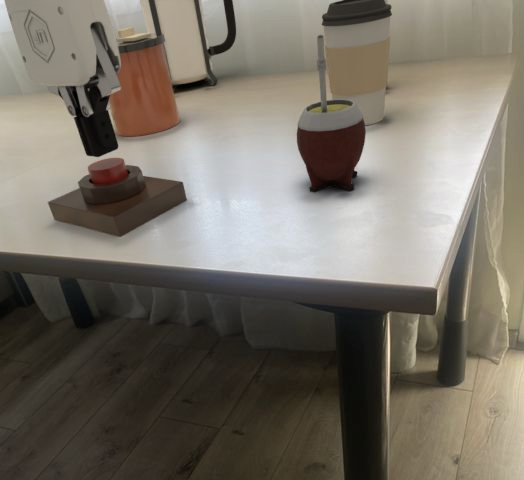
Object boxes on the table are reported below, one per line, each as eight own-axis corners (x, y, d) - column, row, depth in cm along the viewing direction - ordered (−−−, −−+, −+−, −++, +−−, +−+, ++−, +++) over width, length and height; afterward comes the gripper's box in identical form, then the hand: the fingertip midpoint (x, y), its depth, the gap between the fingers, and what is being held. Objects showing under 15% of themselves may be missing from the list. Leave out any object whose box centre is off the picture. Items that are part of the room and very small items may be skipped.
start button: (85, 184, 59) (80, 168, 57) (113, 171, 61) (108, 156, 60) (107, 188, 56) (102, 171, 55) (136, 175, 59) (131, 159, 58)
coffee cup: (391, 125, 72) (392, -6, 63) (325, 132, 74) (317, 5, 65) (390, 108, 79) (391, -12, 70) (330, 114, 81) (323, -2, 72)
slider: (117, 42, 83) (115, 31, 82) (135, 37, 85) (132, 26, 84) (134, 41, 80) (131, 29, 79) (151, 36, 82) (149, 25, 81)
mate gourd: (338, 167, 62) (330, 18, 53) (385, 182, 56) (385, 18, 47) (286, 187, 59) (268, 33, 50) (330, 205, 54) (319, 35, 45)
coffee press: (197, 94, 107) (160, -98, 89) (140, 95, 115) (95, -81, 97) (244, 74, 118) (220, -101, 100) (189, 76, 126) (157, -86, 108)
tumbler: (99, 135, 91) (73, 49, 83) (150, 115, 98) (130, 34, 90) (146, 139, 85) (121, 47, 77) (196, 117, 92) (179, 31, 84)
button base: (54, 220, 61) (41, 186, 59) (120, 188, 67) (110, 156, 65) (120, 237, 55) (108, 200, 52) (187, 200, 60) (179, 165, 58)
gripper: (-46, -46, 48) (35, 159, 59) (46, -74, 40) (120, 171, 50) (26, -54, 52) (89, 137, 63) (123, -81, 44) (176, 145, 55)
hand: (103, 152), depth 57 cm, fingers closed
